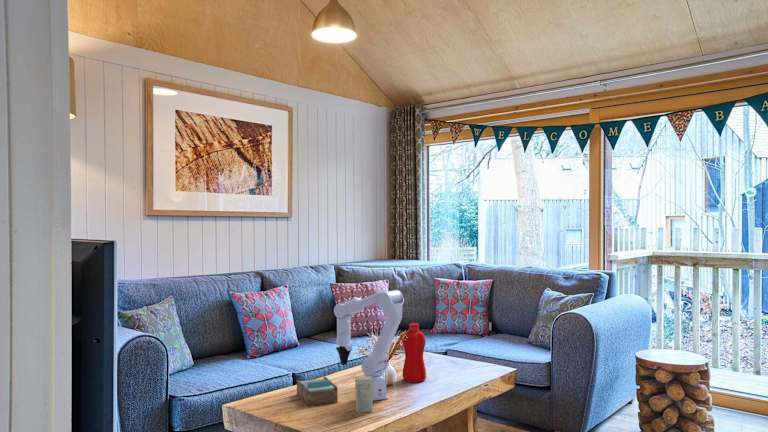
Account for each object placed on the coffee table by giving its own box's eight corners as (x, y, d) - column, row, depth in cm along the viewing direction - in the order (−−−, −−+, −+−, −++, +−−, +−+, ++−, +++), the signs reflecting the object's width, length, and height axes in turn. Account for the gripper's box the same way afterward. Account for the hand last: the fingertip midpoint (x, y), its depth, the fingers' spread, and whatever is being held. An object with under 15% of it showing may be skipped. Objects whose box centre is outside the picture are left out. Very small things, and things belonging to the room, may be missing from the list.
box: (337, 402, 225) (337, 386, 225) (307, 406, 220) (307, 390, 220) (325, 390, 239) (325, 376, 239) (296, 394, 235) (296, 379, 235)
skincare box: (372, 408, 217) (372, 375, 217) (372, 412, 213) (372, 379, 213) (355, 408, 217) (355, 376, 217) (355, 412, 213) (355, 379, 213)
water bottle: (396, 379, 256) (396, 323, 256) (417, 376, 261) (417, 320, 261) (407, 384, 248) (406, 326, 248) (428, 381, 253) (428, 324, 253)
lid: (334, 389, 225) (334, 382, 225) (309, 392, 221) (309, 385, 221) (323, 379, 238) (323, 373, 238) (299, 382, 234) (299, 376, 234)
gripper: (358, 334, 236) (359, 367, 236) (346, 328, 250) (347, 359, 250) (342, 335, 234) (342, 369, 234) (331, 329, 247) (331, 361, 247)
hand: (343, 364), depth 242 cm, fingers closed
